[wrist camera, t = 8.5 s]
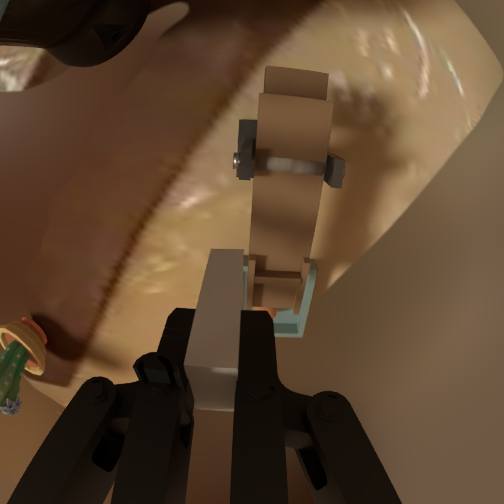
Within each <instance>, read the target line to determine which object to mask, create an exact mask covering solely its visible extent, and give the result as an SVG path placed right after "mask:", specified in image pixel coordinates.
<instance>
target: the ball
mask: <svg viewBox="0 0 504 504" xmlns="http://www.w3.org/2000/svg"><path fill="white" fill-rule="evenodd" d="M254 310H265V311H268V313H269V314H270V316H271V317H272V319H273V318H274V317H275V316H276V314H277V308H270V307H254Z"/></svg>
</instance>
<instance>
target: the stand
mask: <svg viewBox="0 0 504 504" xmlns="http://www.w3.org/2000/svg"><path fill="white" fill-rule="evenodd" d="M257 122H258V121H256V120H239V135H238V153H234V156H233V169H237V174H236V177H239V180H250V178H254V167H255V152H256V137H257ZM344 175H345V160H344V159H342V158H340V157H338V156H336V155H334V154H332V153H330V152H328V153H327V160H326V166H325V173H324V179H323V180H324V181H325V182H326V183H327V184H328V185H329V186H330V187H333V188H341V186H342V180H343V177H344Z"/></svg>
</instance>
